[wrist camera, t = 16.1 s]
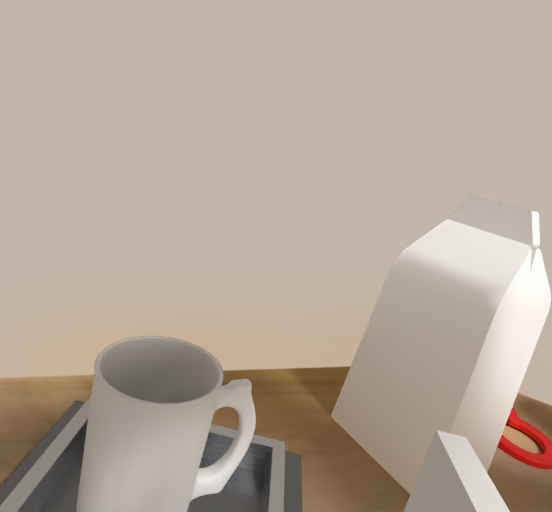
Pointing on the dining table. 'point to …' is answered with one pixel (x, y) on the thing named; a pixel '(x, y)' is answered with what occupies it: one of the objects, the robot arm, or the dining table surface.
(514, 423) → the tow hook
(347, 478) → the dining table surface
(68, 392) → the dining table surface
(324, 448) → the dining table surface
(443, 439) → the robot arm
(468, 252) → the milk
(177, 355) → the mug
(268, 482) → the grey shallow square tray
